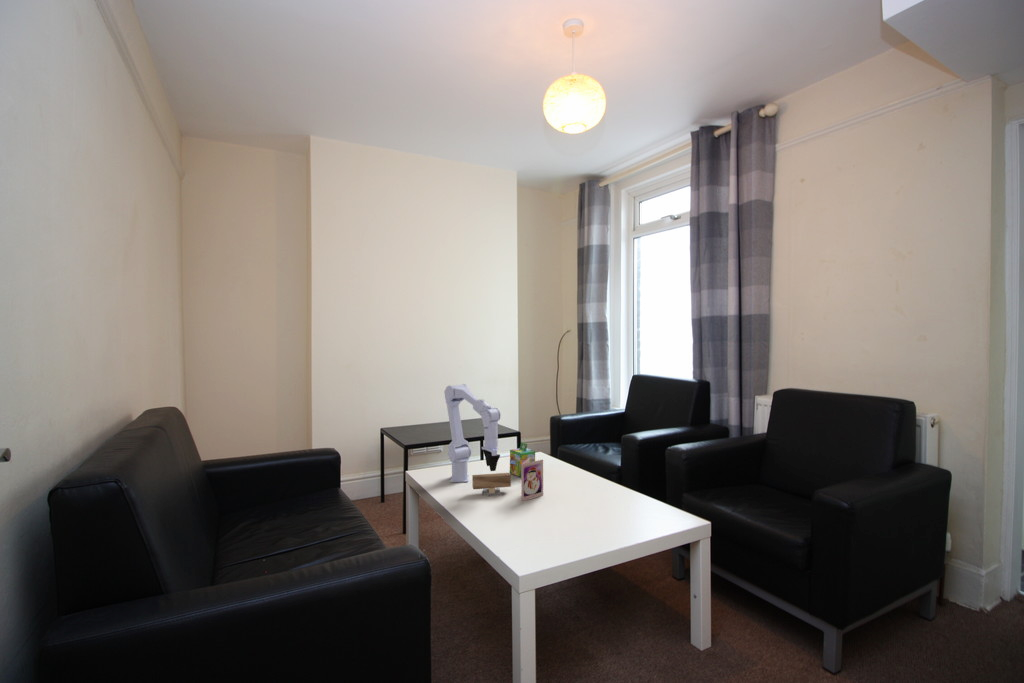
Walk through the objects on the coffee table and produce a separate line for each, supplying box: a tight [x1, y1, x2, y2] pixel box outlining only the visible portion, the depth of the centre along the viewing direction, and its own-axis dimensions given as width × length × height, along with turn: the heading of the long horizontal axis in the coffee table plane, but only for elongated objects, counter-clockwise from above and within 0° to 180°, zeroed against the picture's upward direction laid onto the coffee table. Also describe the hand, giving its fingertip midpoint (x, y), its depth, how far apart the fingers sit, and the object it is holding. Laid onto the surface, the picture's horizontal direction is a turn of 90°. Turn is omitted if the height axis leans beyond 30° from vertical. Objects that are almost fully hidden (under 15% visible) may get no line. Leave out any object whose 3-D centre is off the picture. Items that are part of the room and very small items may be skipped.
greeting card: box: [520, 457, 544, 502], centre depth 194 cm, size 11×7×15 cm, turn 126°
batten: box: [471, 472, 512, 490], centre depth 199 cm, size 4×16×5 cm, turn 101°
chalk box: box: [509, 442, 536, 478], centre depth 225 cm, size 9×9×15 cm
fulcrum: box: [482, 487, 501, 496], centre depth 199 cm, size 6×7×2 cm
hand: (491, 468), depth 200 cm, fingers open, 7 cm apart
